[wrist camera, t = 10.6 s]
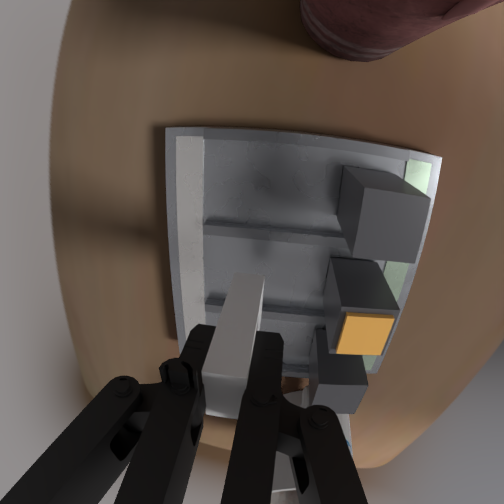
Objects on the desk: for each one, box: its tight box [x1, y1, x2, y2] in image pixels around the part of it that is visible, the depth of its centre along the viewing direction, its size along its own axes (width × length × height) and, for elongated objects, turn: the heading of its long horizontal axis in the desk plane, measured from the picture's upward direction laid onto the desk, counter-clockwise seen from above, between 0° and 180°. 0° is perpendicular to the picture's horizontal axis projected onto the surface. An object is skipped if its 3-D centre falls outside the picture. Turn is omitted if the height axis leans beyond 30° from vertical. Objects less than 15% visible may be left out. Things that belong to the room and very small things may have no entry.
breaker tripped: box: [323, 258, 400, 356], centre depth 16 cm, size 3×3×5 cm
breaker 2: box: [337, 166, 431, 264], centre depth 14 cm, size 3×3×5 cm
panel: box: [165, 126, 442, 378], centre depth 19 cm, size 17×16×2 cm
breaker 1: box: [308, 329, 368, 414], centre depth 19 cm, size 3×3×5 cm
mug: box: [270, 385, 353, 504], centre depth 22 cm, size 12×9×10 cm
